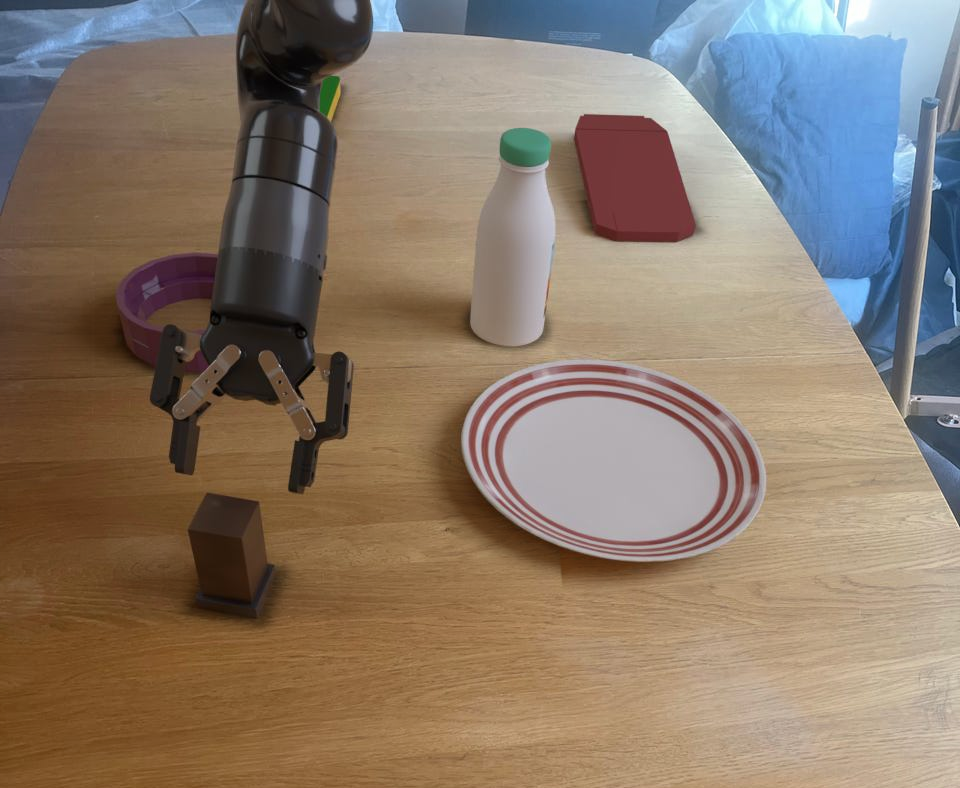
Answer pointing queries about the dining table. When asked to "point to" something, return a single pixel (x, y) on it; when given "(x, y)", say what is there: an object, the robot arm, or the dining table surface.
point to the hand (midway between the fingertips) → (239, 483)
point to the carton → (632, 179)
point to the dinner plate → (613, 460)
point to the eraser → (230, 556)
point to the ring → (163, 299)
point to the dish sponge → (329, 96)
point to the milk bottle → (515, 244)
